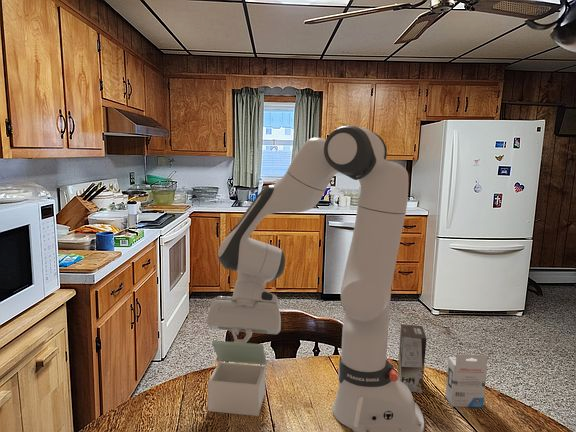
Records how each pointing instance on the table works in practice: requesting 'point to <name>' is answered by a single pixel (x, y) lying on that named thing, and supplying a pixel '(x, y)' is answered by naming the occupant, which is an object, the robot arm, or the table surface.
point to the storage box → (237, 388)
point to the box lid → (240, 352)
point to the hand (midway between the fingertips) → (239, 347)
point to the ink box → (466, 380)
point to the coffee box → (412, 357)
